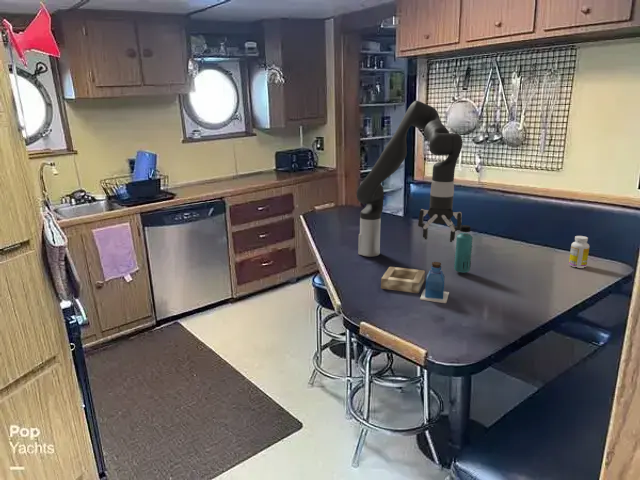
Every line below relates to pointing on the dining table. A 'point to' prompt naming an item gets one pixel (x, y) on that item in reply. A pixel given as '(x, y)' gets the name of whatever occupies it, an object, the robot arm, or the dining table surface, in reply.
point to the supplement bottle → (579, 251)
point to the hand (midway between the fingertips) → (438, 240)
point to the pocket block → (403, 279)
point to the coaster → (444, 300)
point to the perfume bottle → (435, 282)
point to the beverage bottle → (463, 250)
